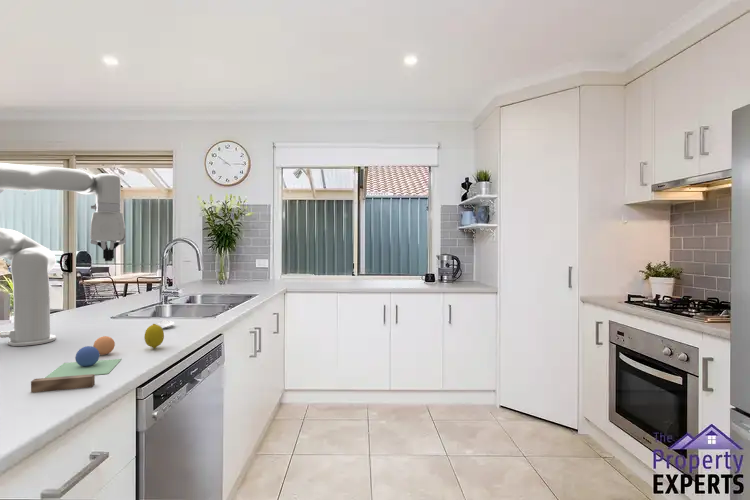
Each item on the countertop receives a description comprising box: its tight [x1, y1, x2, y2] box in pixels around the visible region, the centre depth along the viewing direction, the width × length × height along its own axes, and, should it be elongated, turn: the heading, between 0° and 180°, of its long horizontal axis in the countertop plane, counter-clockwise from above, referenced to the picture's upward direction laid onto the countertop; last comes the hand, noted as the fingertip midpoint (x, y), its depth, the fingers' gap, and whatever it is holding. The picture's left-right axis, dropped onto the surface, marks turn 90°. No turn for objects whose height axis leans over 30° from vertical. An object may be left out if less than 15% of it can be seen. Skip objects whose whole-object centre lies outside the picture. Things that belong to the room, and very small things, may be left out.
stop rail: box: [30, 374, 96, 393], centre depth 100 cm, size 12×2×2 cm, turn 109°
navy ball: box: [74, 345, 100, 367], centre depth 118 cm, size 6×6×6 cm
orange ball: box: [92, 335, 116, 356], centre depth 130 cm, size 6×6×6 cm
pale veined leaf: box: [155, 318, 175, 330], centre depth 170 cm, size 8×12×2 cm, turn 21°
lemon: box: [144, 323, 165, 349], centre depth 137 cm, size 6×6×8 cm
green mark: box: [44, 358, 122, 378], centre depth 116 cm, size 14×14×1 cm
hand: (108, 260), depth 152 cm, fingers closed
